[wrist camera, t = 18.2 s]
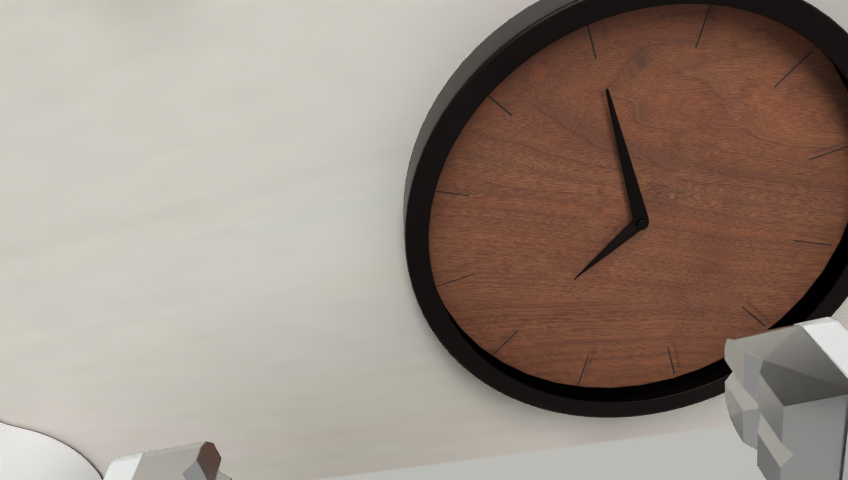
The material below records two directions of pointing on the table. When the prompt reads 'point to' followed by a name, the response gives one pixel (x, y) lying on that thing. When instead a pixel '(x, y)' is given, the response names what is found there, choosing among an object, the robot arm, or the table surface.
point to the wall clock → (631, 197)
